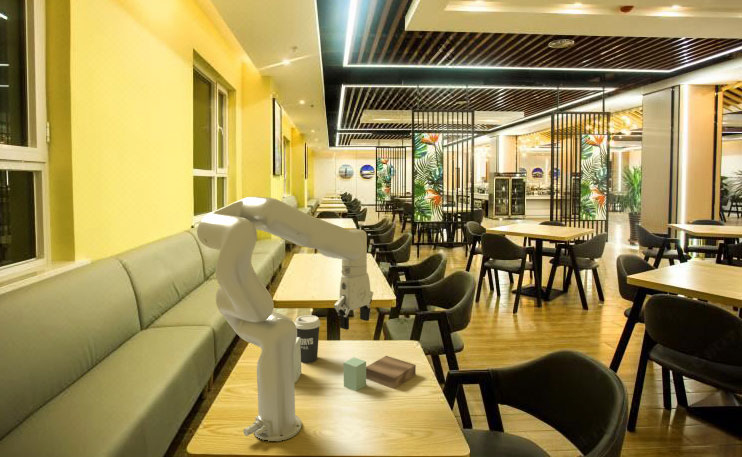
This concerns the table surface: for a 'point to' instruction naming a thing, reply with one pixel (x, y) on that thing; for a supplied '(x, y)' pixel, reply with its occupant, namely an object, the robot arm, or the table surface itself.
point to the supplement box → (297, 360)
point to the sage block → (355, 374)
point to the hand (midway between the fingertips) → (354, 324)
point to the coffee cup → (308, 337)
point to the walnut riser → (390, 371)
